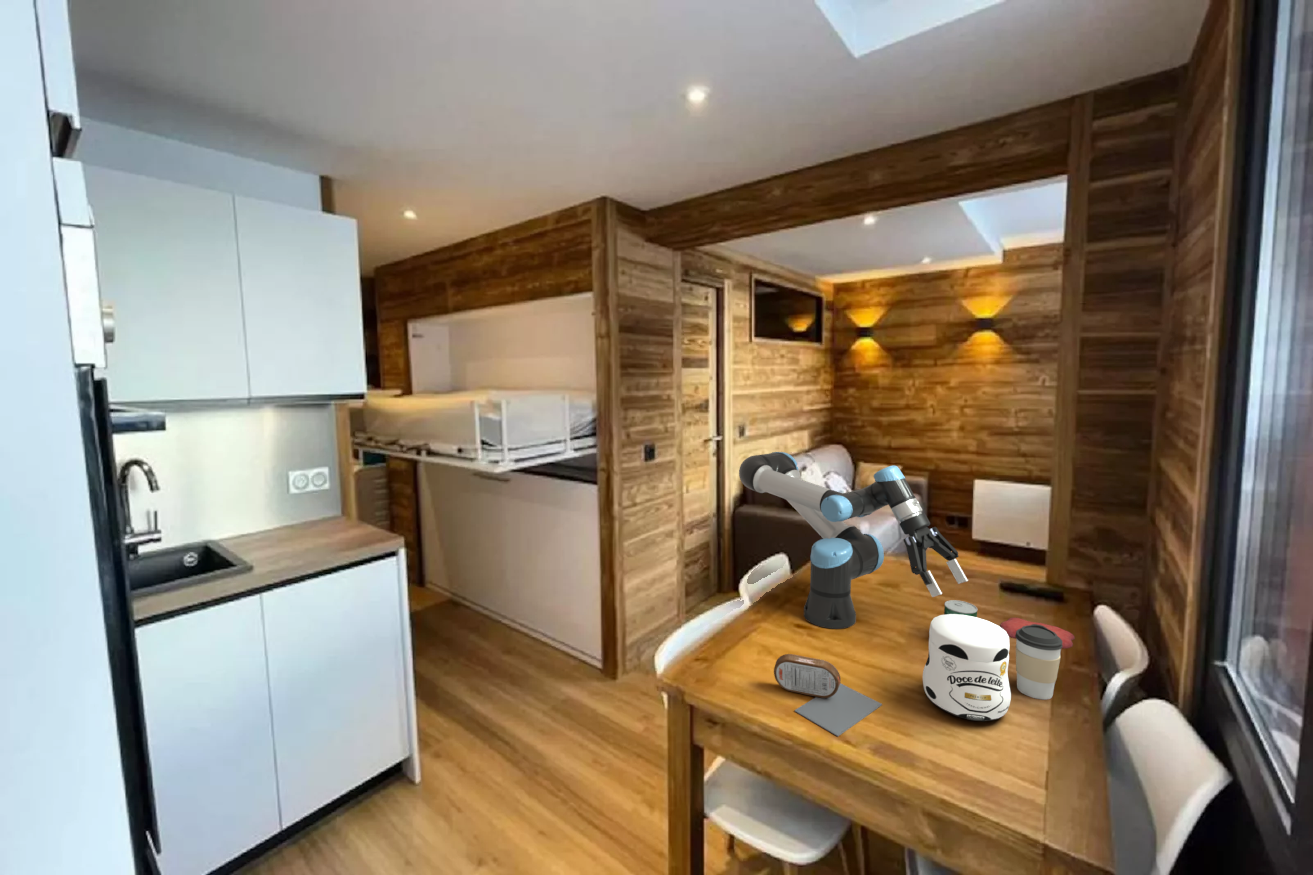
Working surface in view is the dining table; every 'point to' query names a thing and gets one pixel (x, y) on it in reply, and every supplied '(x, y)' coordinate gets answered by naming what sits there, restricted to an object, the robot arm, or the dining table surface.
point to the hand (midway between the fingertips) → (950, 588)
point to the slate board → (838, 710)
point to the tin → (807, 675)
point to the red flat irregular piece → (1018, 623)
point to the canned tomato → (960, 608)
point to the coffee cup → (1037, 660)
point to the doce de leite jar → (968, 667)
